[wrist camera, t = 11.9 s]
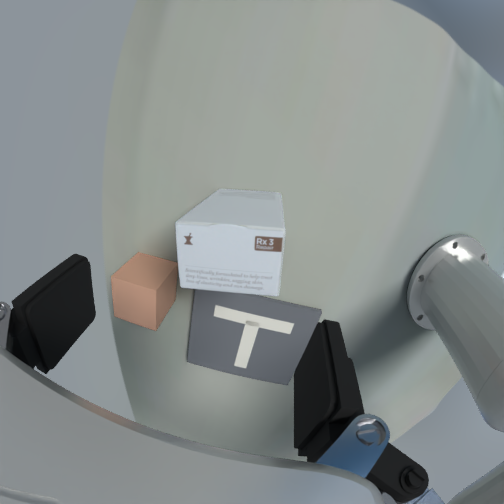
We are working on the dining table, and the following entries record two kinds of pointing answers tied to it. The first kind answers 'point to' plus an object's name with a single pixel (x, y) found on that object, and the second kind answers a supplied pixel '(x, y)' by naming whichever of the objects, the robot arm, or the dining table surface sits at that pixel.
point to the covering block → (144, 290)
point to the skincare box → (233, 243)
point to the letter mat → (249, 334)
